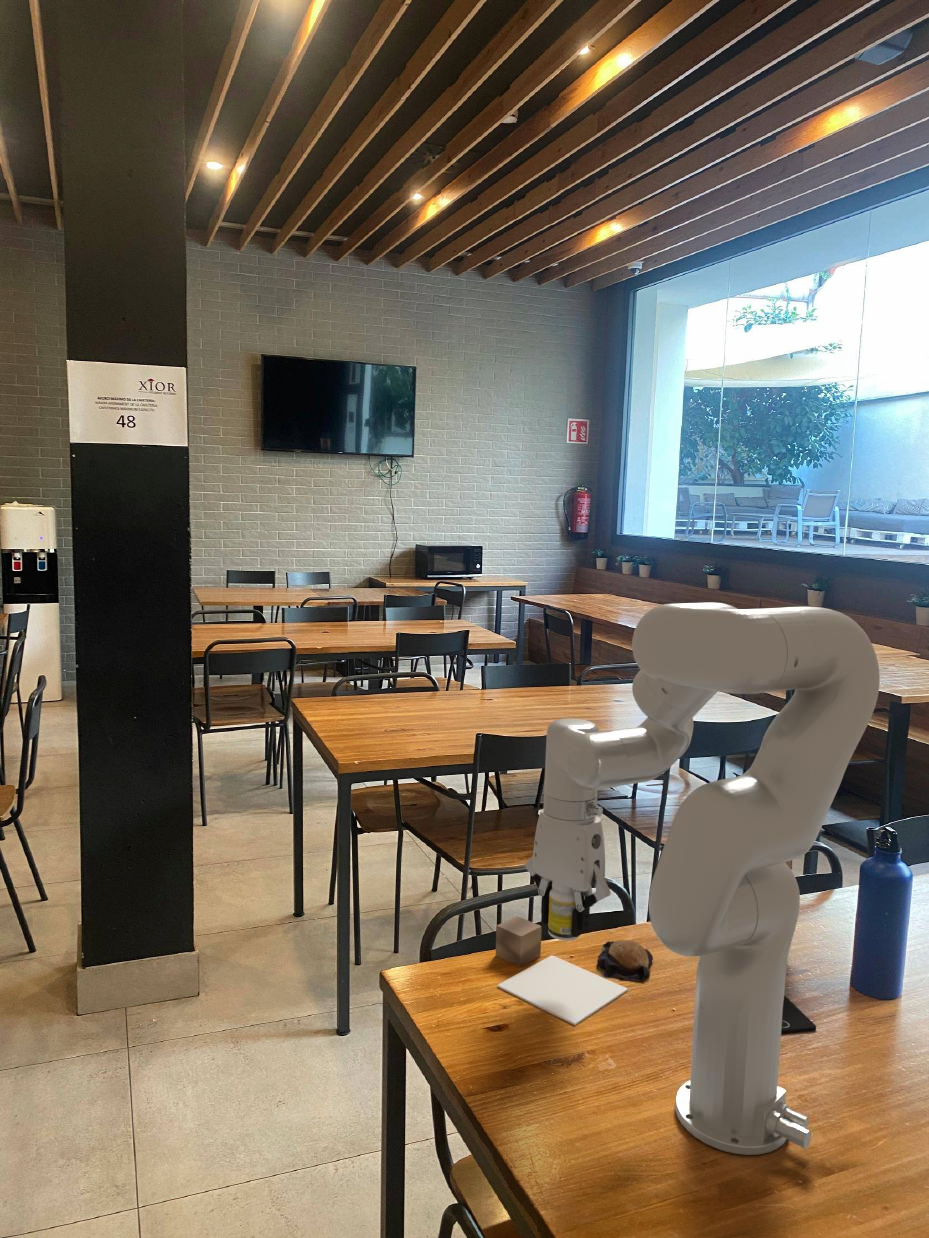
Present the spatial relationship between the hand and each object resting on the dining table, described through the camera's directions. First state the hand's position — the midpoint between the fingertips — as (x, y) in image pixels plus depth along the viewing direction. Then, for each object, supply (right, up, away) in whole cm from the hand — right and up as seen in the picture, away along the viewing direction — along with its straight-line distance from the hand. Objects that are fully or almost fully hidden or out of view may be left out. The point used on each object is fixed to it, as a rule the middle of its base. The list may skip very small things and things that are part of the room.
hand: (564, 925), depth 129 cm
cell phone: (+27, -11, 0) cm, 30 cm away
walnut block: (-6, -8, +10) cm, 15 cm away
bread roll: (+10, -10, +9) cm, 17 cm away
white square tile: (0, -10, +1) cm, 9 cm away
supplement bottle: (0, -1, 0) cm, 1 cm away
